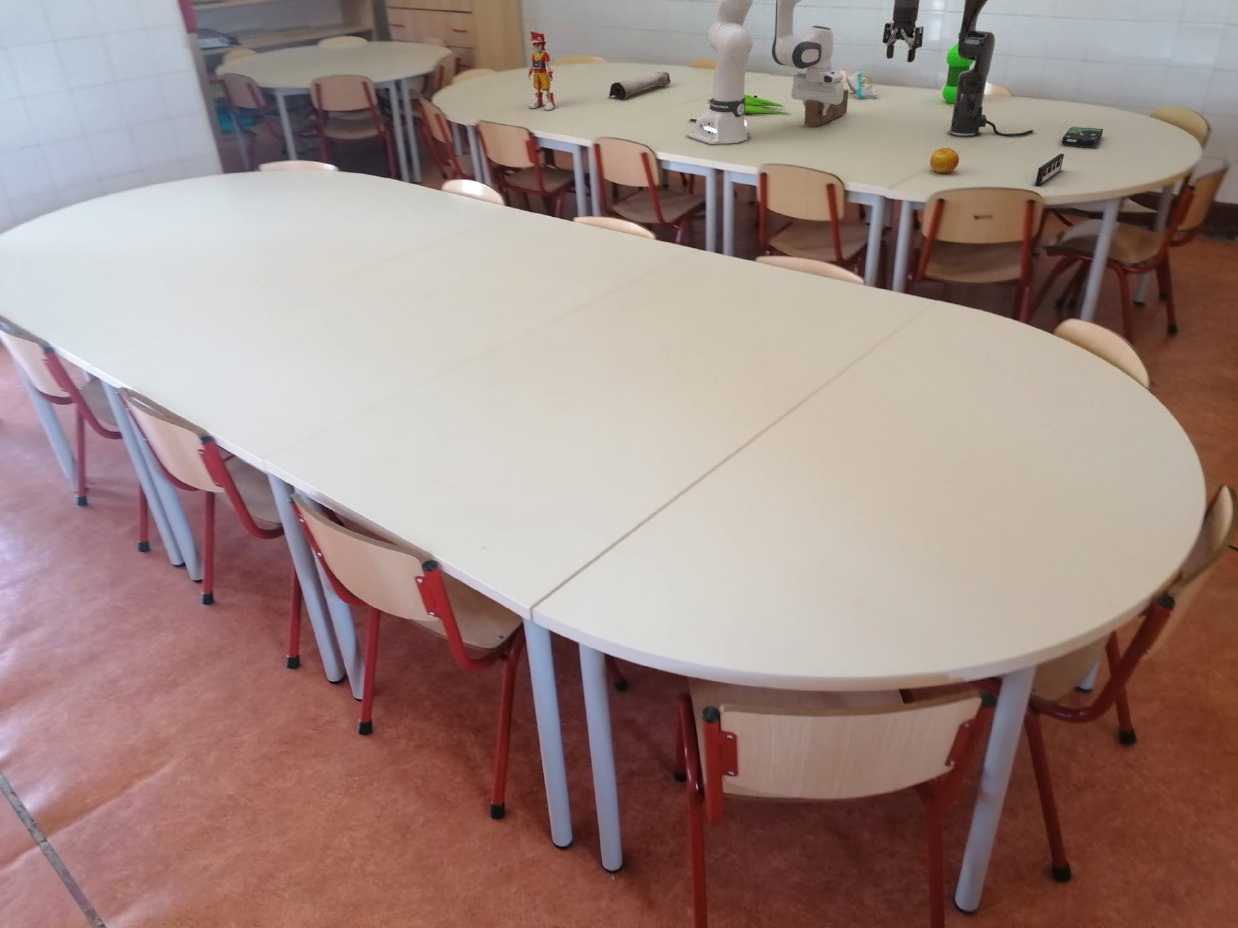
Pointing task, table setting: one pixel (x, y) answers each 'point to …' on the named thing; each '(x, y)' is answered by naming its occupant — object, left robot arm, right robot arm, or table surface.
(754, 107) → the toy
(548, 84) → the toy
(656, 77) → the rolled mat
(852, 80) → the anatomical model
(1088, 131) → the disk drive
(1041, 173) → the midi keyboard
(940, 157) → the fruit
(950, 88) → the green tall rounded piece
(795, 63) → the left robot arm
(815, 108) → the bar
